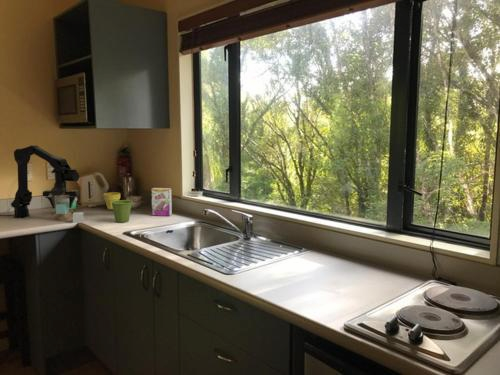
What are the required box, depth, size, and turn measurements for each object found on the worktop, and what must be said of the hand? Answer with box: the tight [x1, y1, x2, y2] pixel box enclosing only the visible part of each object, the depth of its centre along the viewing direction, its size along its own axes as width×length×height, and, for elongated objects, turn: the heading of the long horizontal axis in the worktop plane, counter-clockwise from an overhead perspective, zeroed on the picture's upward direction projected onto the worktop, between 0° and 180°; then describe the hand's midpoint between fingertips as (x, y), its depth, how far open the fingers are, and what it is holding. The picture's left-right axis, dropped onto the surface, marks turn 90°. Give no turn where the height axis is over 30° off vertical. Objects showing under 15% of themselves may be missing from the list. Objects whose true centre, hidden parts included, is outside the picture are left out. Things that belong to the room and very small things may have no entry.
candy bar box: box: [150, 187, 173, 217], centre depth 254 cm, size 11×5×16 cm, turn 84°
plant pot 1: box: [103, 192, 121, 210], centre depth 276 cm, size 10×10×10 cm
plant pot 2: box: [111, 199, 134, 223], centre depth 237 cm, size 12×12×11 cm
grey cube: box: [72, 211, 85, 224], centre depth 235 cm, size 5×5×5 cm
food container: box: [56, 196, 78, 215], centre depth 256 cm, size 12×6×10 cm, turn 143°
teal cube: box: [55, 203, 68, 214], centre depth 240 cm, size 5×5×5 cm
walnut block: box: [52, 212, 73, 222], centre depth 241 cm, size 7×7×4 cm
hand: (62, 208), depth 240 cm, fingers open, 9 cm apart
